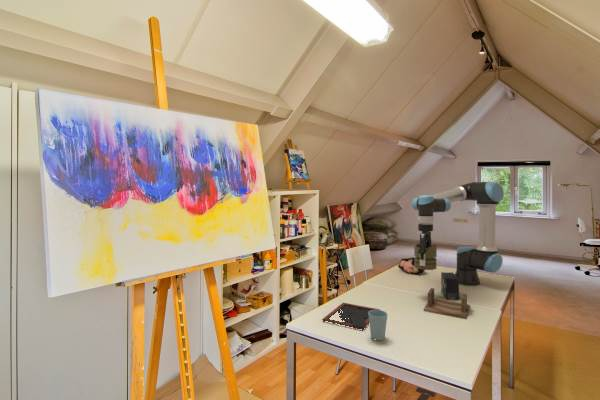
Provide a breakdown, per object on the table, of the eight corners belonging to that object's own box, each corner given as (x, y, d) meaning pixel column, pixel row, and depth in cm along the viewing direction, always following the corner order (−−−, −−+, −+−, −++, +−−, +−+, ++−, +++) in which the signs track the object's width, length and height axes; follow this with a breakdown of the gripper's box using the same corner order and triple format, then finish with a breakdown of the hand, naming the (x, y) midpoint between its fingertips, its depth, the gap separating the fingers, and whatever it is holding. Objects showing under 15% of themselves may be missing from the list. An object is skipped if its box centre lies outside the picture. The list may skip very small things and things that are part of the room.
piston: (433, 248, 170) (411, 246, 177) (433, 271, 171) (411, 267, 178) (439, 245, 179) (418, 243, 186) (438, 266, 180) (418, 263, 187)
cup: (385, 343, 130) (385, 318, 130) (366, 339, 133) (366, 314, 133) (389, 336, 137) (389, 311, 136) (371, 332, 140) (370, 308, 140)
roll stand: (431, 300, 179) (431, 285, 178) (469, 307, 168) (470, 291, 168) (423, 311, 164) (423, 294, 163) (465, 319, 153) (466, 301, 153)
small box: (440, 292, 193) (440, 271, 192) (453, 292, 191) (453, 272, 191) (446, 299, 180) (446, 278, 179) (459, 300, 178) (459, 278, 178)
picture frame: (363, 332, 142) (380, 312, 163) (363, 327, 142) (380, 308, 163) (322, 323, 152) (343, 305, 173) (322, 318, 152) (343, 302, 173)
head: (393, 264, 232) (423, 267, 223) (397, 252, 242) (425, 255, 232) (395, 277, 238) (424, 280, 228) (399, 265, 247) (427, 267, 238)
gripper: (424, 221, 190) (423, 258, 190) (412, 225, 170) (412, 266, 171) (437, 222, 185) (437, 260, 186) (427, 226, 166) (427, 268, 167)
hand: (425, 263), depth 179 cm, fingers closed on piston, 11 cm apart
